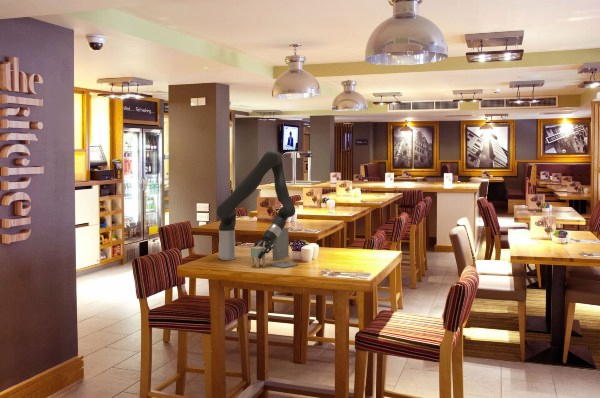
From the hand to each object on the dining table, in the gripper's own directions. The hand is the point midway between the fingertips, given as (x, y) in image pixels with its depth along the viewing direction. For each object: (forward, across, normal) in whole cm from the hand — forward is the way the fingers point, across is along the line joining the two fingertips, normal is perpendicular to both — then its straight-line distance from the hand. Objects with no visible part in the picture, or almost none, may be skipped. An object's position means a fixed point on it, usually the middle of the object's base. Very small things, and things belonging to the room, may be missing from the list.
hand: (255, 257), depth 341 cm
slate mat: (-6, +8, +14) cm, 17 cm away
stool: (+2, 0, +5) cm, 6 cm away
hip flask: (-16, -12, +24) cm, 31 cm away
